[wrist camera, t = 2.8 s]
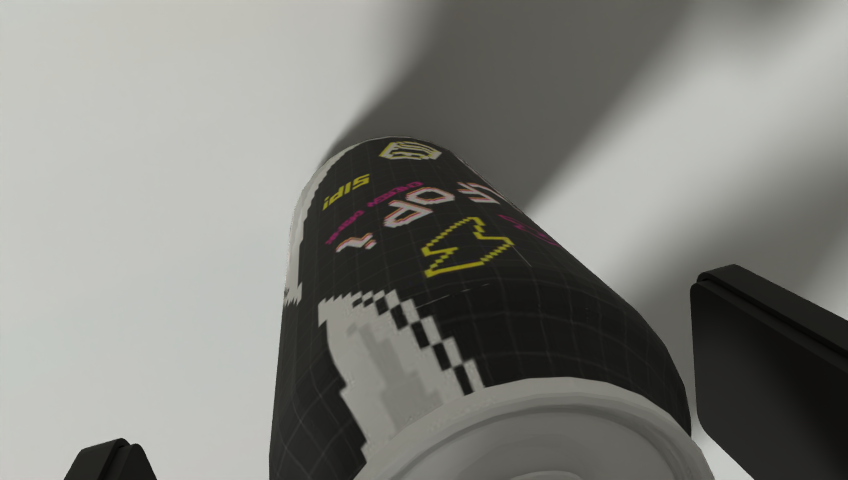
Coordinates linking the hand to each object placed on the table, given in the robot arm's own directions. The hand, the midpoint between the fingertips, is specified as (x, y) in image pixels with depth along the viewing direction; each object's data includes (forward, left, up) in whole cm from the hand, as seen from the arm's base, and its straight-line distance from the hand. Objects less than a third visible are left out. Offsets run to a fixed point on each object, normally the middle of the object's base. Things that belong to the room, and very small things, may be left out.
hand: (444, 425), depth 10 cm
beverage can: (0, -1, -9) cm, 9 cm away
